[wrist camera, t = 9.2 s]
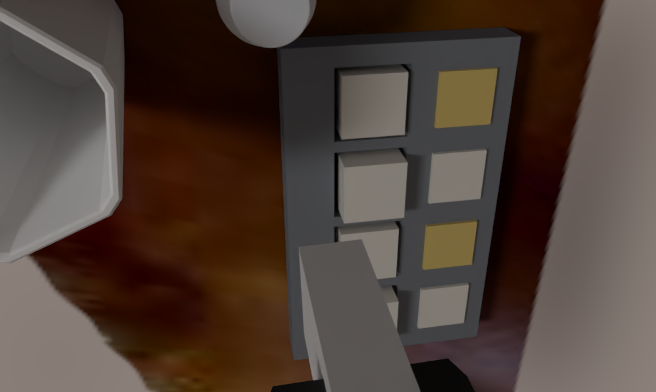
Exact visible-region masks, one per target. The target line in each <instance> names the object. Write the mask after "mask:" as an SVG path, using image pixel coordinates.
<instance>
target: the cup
mask: <svg viewBox="0 0 656 392" xmlns="http://www.w3.org/2000/svg"><path fill="white" fill-rule="evenodd" d="M124 64H125V57H124V32H123V14H122V12H121V10H120V9H119V7H118V5H117V4H116V2H115V0H0V263H12V262H14V261H16V260H18V259H20V258H22V257H24V256H27V255H29V254H31V253H33V252H35V251H37V250H39V249H41V248H43V247H45V246H48V245H50V244H52V243H54V242H56V241H58V240H60V239H62V238H64V237H66V236H69V235H71V234H73V233H75V232H77V231H79V230H81V229H83V228H85V227H87V226H89V225H92V224H94V223H96V222H98V221H100V220H102V219H104V218H106V217H108V216H110V215H112V213H113V212H114V210H115V209H116V207H117V206H118V204H119V202H120V201H121V199H122V181H123V122H124Z"/></svg>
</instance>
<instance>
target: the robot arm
mask: <svg viewBox="0 0 656 392" xmlns="http://www.w3.org/2000/svg"><path fill="white" fill-rule="evenodd" d="M299 260H300V276H301V292H302V308H303V324H304V336H305V341H306V346H307V351H308V356H309V361H310V367H311V372H312V377H313V380H312V381H305V382H299V383H292V384H286V385H279V386H273V388H272V390H271V392H475V391H474V389H473V387H472V385H471V383H470V381H469V379H468V377H467V376H466V375H465V374H464V373H463V372H462V371H461V370H460V369H459V368H458V367H457V366H456V365H454V364H453V363H452V362H451V361H450V360H449V359H441V360H435V361H428V362H421V363H415V364H410V363H409V361H408V358H407V355H406V353H405V350H404V348H403V345H402V342H401V340H400V337H399V335H398V332H397V329H396V327H395V324H394V322H393V319H392V316H391V314H390V311H389V309H388V306H387V303H386V301H385V298H384V296H383V293H382V290H381V288H380V285H379V283H378V280H377V277H376V275H375V272H374V270H373V267H372V264H371V262H370V259H369V257H368V254H367V251H366V249H365V246H364V244H363V241H362V239H359V240H351V241H343V242H335V243H326V244H318V245H310V246H302V247H299Z"/></svg>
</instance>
